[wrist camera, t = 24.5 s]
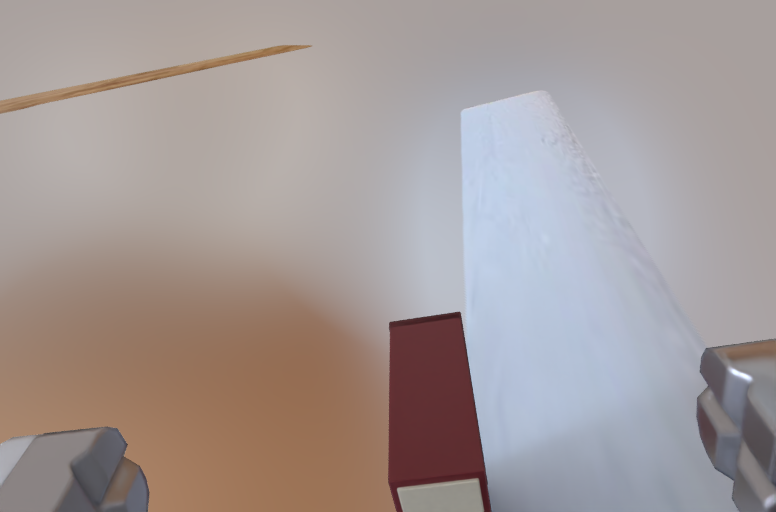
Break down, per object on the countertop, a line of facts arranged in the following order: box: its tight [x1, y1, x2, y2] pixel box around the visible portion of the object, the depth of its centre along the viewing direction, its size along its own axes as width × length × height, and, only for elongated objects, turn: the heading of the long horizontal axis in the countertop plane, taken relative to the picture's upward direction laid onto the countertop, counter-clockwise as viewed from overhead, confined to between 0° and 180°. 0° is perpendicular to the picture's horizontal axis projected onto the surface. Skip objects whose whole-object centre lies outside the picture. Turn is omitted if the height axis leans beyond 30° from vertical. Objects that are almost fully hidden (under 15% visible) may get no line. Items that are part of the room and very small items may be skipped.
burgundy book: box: [388, 312, 491, 512], centre depth 33 cm, size 4×11×14 cm, turn 179°
